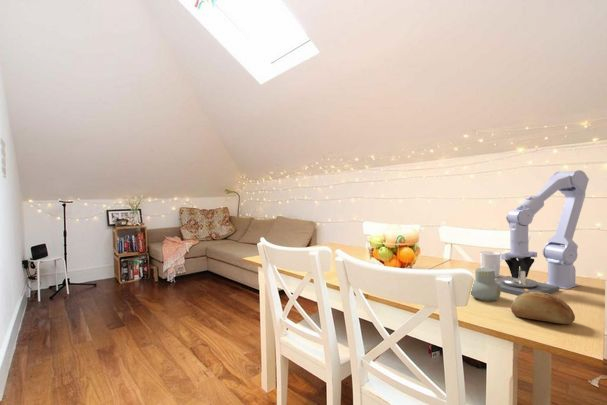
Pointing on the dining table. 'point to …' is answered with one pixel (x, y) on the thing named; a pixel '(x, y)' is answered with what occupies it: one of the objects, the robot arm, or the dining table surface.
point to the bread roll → (542, 308)
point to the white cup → (490, 261)
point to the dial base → (518, 291)
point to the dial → (520, 281)
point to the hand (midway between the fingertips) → (519, 277)
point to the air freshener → (485, 285)
